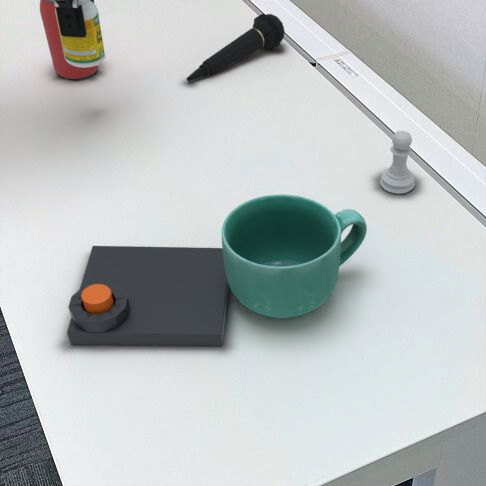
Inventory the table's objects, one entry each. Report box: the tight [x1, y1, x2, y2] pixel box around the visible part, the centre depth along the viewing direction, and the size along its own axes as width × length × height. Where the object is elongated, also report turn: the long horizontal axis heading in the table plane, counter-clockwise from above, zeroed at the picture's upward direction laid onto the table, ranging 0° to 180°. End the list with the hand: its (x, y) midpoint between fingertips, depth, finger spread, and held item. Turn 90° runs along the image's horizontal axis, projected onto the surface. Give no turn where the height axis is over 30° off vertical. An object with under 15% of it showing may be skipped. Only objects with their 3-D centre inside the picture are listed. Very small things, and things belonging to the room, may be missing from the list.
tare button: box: [81, 284, 114, 314], centre depth 81 cm, size 3×3×2 cm
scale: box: [66, 245, 230, 347], centre depth 85 cm, size 16×14×4 cm
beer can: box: [39, 0, 99, 80], centre depth 115 cm, size 7×7×12 cm
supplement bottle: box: [55, 0, 106, 68], centre depth 102 cm, size 5×5×10 cm
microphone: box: [186, 13, 286, 83], centre depth 123 cm, size 6×6×20 cm
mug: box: [221, 193, 368, 319], centre depth 85 cm, size 17×13×10 cm
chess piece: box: [379, 130, 416, 195], centre depth 101 cm, size 5×5×8 cm
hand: (78, 24), depth 102 cm, fingers closed on supplement bottle, 5 cm apart
